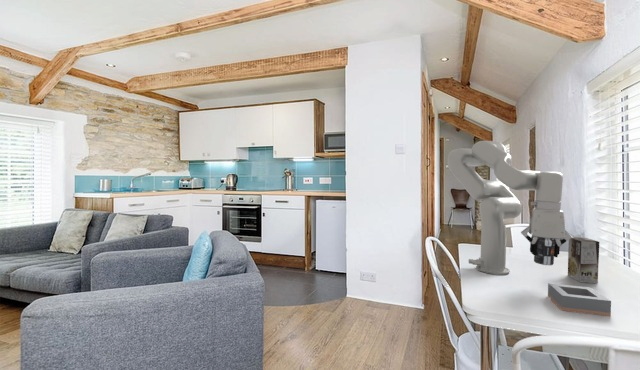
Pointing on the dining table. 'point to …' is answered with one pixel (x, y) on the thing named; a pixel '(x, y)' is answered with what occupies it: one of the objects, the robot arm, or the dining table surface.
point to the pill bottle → (545, 251)
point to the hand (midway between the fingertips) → (544, 254)
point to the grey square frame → (579, 299)
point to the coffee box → (583, 259)
